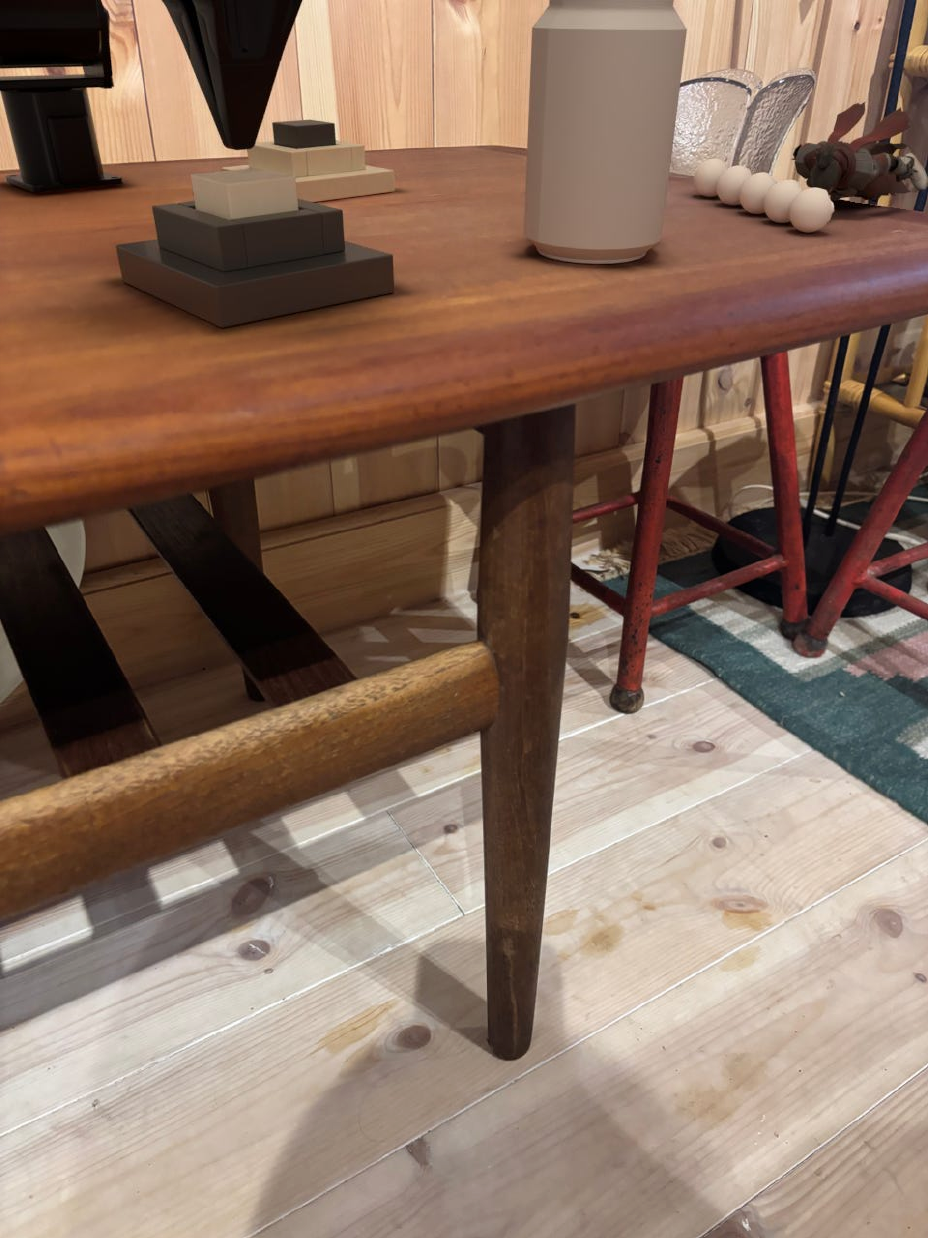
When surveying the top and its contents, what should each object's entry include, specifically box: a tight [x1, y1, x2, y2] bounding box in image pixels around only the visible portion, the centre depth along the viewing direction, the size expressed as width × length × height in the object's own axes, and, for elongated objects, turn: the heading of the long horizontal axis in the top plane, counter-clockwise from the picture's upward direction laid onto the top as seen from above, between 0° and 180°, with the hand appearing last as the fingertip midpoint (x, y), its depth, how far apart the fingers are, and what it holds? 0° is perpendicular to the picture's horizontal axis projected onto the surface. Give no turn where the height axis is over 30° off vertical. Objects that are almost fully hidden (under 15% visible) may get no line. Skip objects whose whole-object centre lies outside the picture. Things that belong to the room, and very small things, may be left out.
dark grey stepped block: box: [115, 199, 395, 329], centre depth 42 cm, size 10×9×4 cm
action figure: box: [790, 101, 928, 203], centre depth 60 cm, size 8×6×18 cm
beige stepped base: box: [220, 139, 396, 203], centre depth 65 cm, size 9×9×3 cm
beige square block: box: [190, 168, 298, 220], centre depth 41 cm, size 3×3×2 cm
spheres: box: [693, 158, 835, 233], centre depth 59 cm, size 15×2×2 cm, turn 14°
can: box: [523, 0, 688, 265], centre depth 46 cm, size 8×8×12 cm
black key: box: [271, 119, 337, 149], centre depth 64 cm, size 3×3×2 cm
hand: (239, 148), depth 40 cm, fingers closed
